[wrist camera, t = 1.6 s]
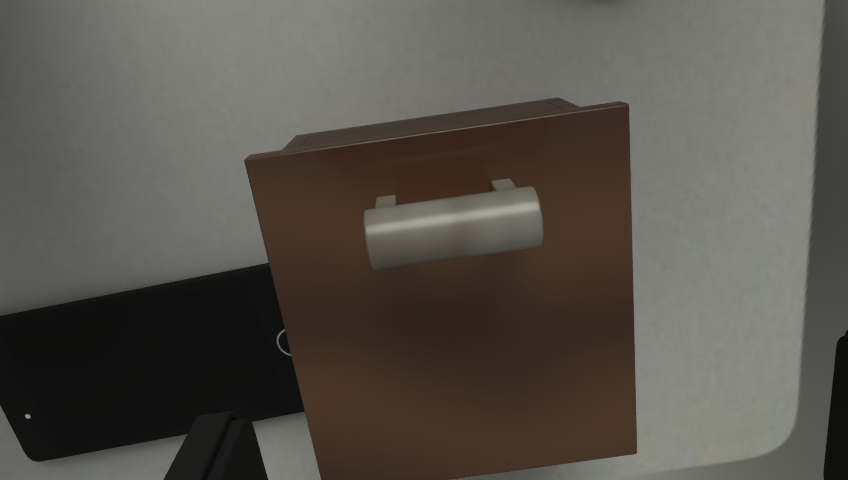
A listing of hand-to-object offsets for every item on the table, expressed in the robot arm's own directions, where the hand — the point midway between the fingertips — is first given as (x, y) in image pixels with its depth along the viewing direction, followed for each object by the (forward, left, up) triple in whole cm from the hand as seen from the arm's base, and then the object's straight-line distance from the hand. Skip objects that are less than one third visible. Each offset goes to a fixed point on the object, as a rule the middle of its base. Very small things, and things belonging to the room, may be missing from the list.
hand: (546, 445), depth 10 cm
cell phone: (+9, -17, -22) cm, 29 cm away
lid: (+4, -1, -13) cm, 14 cm away
